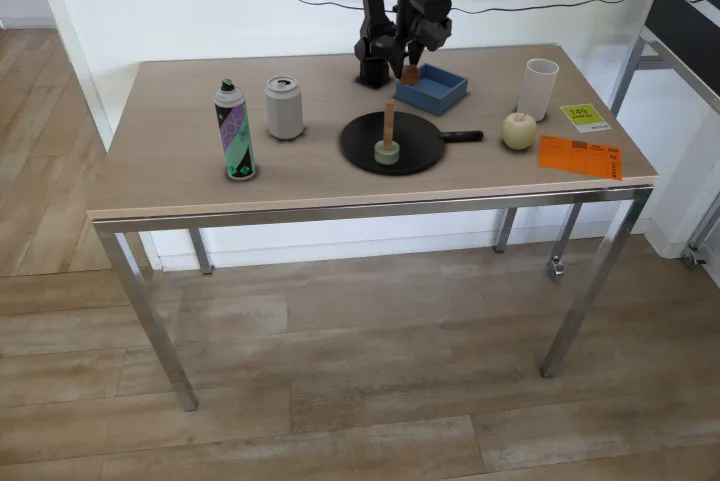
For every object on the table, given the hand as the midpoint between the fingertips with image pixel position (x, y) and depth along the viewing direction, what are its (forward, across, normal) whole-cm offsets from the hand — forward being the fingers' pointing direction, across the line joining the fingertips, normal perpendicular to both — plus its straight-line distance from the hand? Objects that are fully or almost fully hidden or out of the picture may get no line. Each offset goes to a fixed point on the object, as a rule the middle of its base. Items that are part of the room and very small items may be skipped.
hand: (405, 74), depth 122 cm
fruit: (+10, +6, -26) cm, 28 cm away
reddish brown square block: (+1, 0, -1) cm, 1 cm away
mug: (+10, +20, -21) cm, 31 cm away
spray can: (+10, -39, +11) cm, 41 cm away
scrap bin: (+10, +11, 0) cm, 15 cm away
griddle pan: (+10, -8, -9) cm, 15 cm away
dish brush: (+8, -17, -9) cm, 21 cm away
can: (+10, -23, +15) cm, 29 cm away
